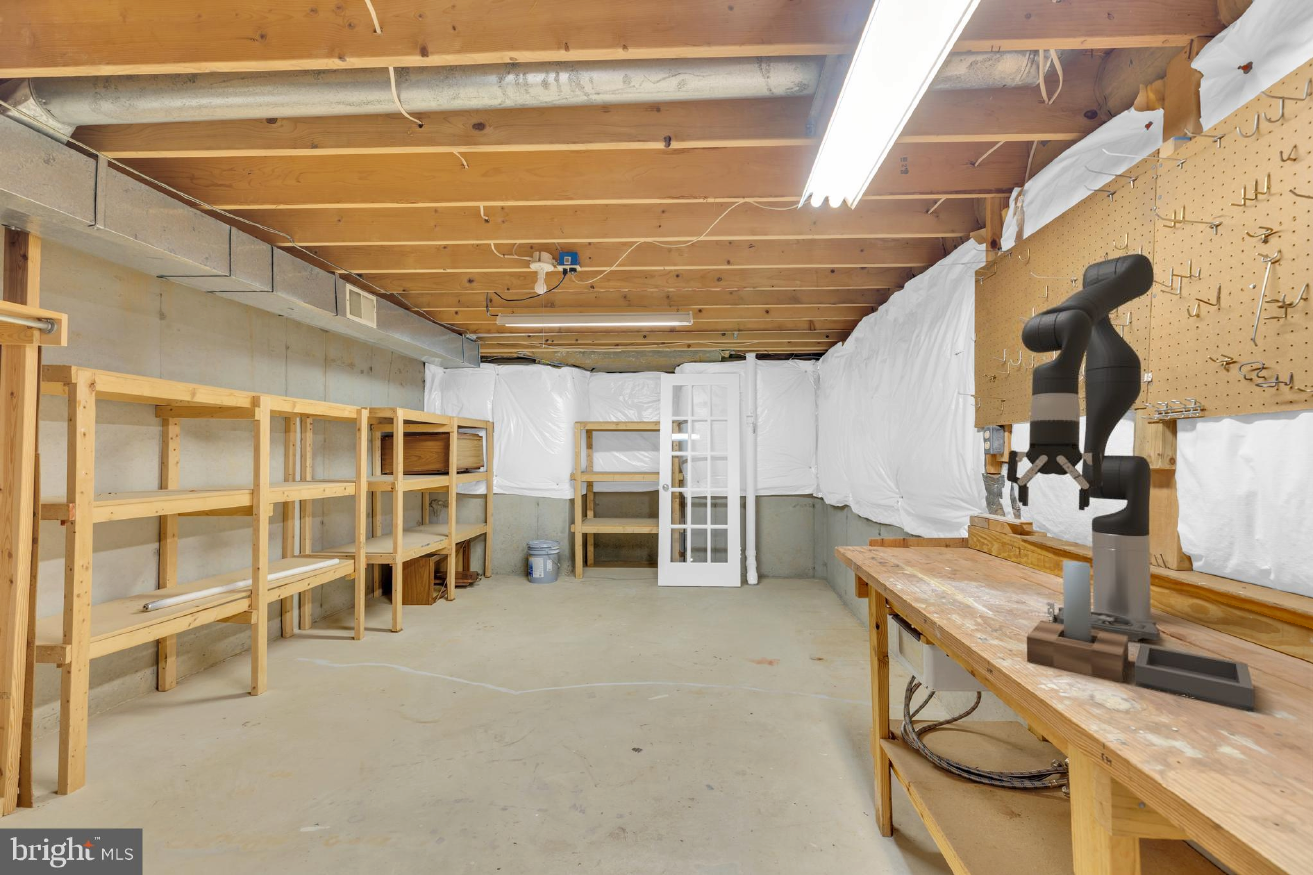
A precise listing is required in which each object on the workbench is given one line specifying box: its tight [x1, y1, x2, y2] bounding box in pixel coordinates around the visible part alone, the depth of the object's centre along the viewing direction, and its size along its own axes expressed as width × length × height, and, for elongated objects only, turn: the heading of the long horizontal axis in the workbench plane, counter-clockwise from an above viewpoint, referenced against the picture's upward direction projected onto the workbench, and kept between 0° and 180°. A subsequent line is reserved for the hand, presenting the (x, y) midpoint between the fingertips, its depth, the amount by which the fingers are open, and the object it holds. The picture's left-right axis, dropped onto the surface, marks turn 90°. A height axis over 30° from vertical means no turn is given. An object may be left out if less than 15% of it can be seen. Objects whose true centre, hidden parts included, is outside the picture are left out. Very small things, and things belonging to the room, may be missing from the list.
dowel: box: [1062, 560, 1092, 643], centre depth 92 cm, size 4×4×16 cm
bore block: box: [1026, 619, 1129, 683], centre depth 92 cm, size 12×12×4 cm
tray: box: [1134, 643, 1255, 713], centre depth 83 cm, size 12×12×3 cm
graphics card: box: [1047, 602, 1161, 642], centre depth 106 cm, size 17×4×12 cm
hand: (1052, 508), depth 103 cm, fingers open, 8 cm apart
